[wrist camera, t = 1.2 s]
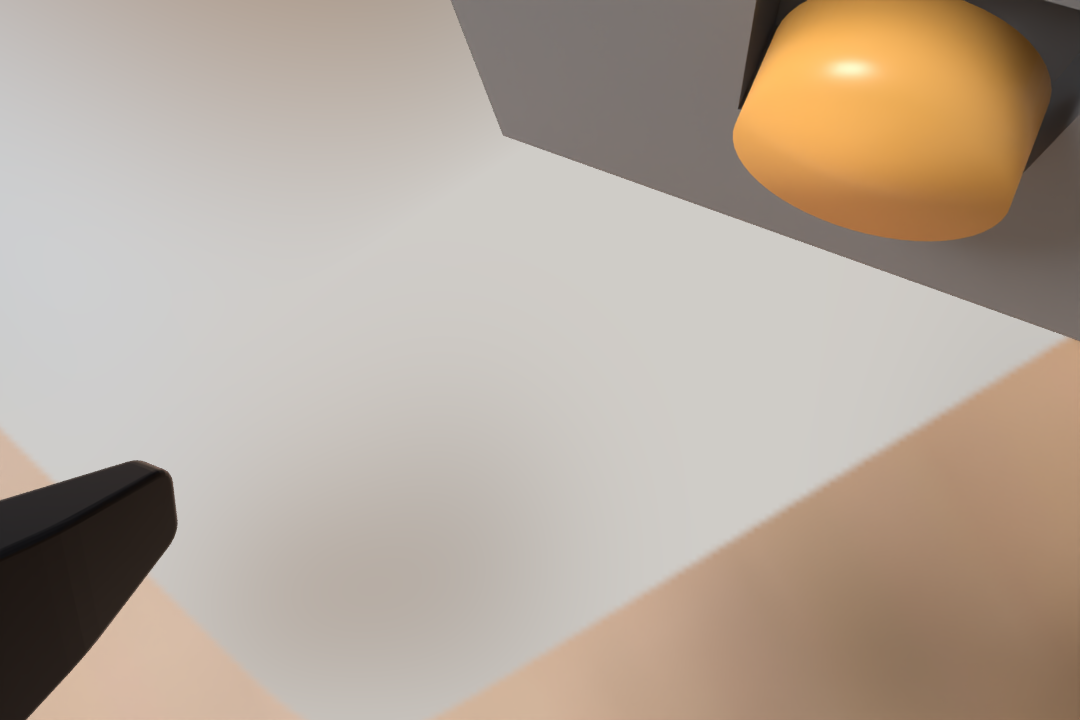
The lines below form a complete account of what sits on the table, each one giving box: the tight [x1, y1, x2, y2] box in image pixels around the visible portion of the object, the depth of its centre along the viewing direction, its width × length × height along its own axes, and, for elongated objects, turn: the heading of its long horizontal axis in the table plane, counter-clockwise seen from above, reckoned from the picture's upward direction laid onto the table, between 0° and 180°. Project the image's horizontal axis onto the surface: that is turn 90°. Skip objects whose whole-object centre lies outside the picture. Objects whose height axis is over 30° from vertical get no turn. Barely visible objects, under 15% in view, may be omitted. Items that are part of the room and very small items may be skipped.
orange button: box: [733, 0, 1052, 241], centre depth 14 cm, size 2×4×4 cm, turn 65°
